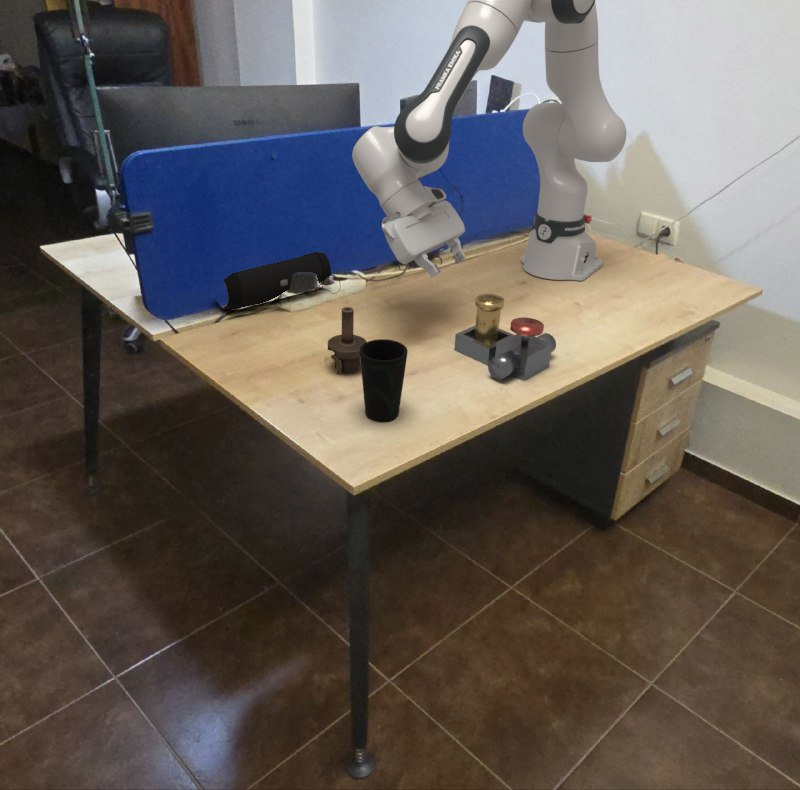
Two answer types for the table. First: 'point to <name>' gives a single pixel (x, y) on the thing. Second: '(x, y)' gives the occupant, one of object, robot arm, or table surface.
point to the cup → (382, 378)
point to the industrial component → (346, 345)
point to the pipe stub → (488, 317)
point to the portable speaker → (271, 279)
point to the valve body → (511, 349)
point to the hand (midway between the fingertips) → (449, 267)
